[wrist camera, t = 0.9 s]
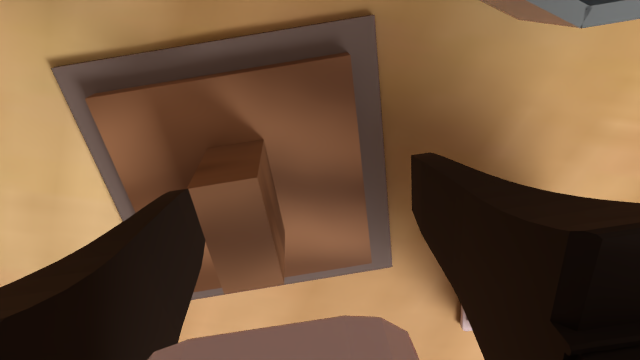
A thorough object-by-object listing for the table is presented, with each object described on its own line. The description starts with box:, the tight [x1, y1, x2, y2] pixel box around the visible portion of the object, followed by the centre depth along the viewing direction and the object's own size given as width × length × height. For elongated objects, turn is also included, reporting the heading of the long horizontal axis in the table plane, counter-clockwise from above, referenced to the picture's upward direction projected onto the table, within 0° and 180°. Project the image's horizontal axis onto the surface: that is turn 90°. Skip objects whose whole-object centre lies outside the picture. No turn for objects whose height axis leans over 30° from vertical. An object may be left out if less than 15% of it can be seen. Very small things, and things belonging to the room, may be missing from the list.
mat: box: [51, 15, 392, 300], centre depth 22 cm, size 16×16×1 cm
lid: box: [85, 52, 372, 294], centre depth 19 cm, size 13×13×6 cm
